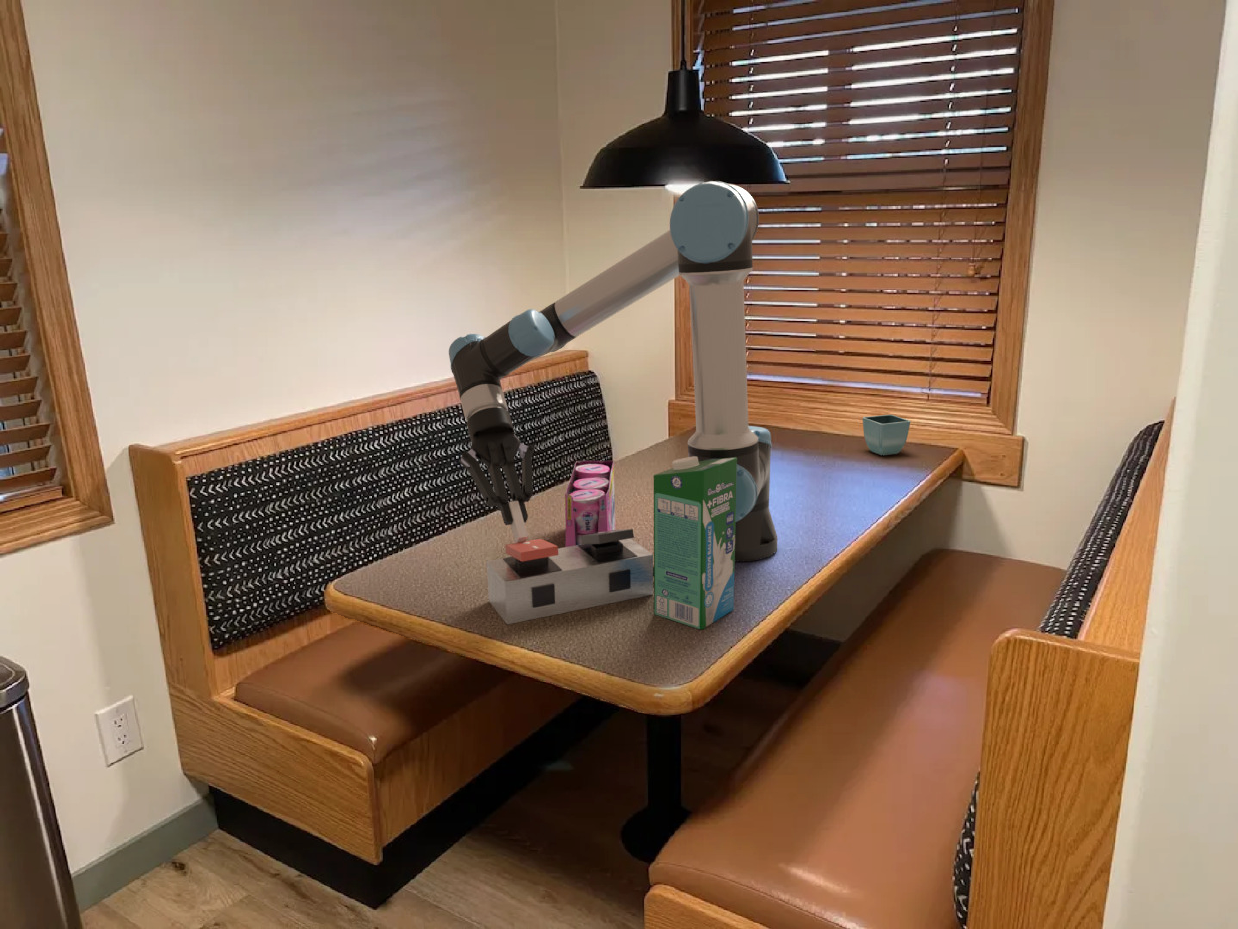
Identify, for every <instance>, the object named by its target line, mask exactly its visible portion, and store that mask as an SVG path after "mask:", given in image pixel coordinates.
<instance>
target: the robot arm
mask: <svg viewBox="0 0 1238 929" xmlns="http://www.w3.org/2000/svg"><path fill="white" fill-rule="evenodd" d="M759 224H760V214H759V208H758V206H757V203H756V201H755V199H754V198H753V196H751V194H750V193H749V192H748V191H747V190H745V189H744V188H742V187H740V185H739V186H738V185H736V184H735V183H727V182H723V181H720V180H715V181H713V180H709V181H705V182H700V183H698V184H695V185H693V186H692V187H690V188H688V189H686V191H684V192H683V193H682V194H681V195H680V196H679V197H678V199H677V200H676V201H675V204H674V205H673V207H672V210H671V213H670V217H669V230H667V231H665V232H664V233H663V234H661V235H659V236H658V237H655V239H653V240H651V241H650V242H649V243H647V244H645V245H643V246H642V247H640V248H638V249H637V250H636V251H634V252H632V253H631V254H630V255H627V256H626V257H624V258H623V259H621V260H620V261H618V262H616V263H614V265H612V266H610V267H609V268H606V269H605V270H603V271H602V272H600V273H599V274H597V275H596V276H594V277H592V278H590V279H589V280H588V281H586V282H585V283H583V284H581V285H580V286H579V287H577V288H575V289H574V290H572V291H569V293H567V294H565V295H564V296H562V297H561V298H559V299H558V300H556V301H555V302H552V303H551V304H549V305H547V306H545V308H543V309H541V310H540V311H537V309H534V308H530V309H526V310H524V311H523V312H521V313H520V314H518V315H515V316H514V317H512V318H511V320H509V321H508V322H506V323H505V324H504V325H502V326H501V327H500V328H498V329H496V330H495V331H494V332H492V333H490V334H488V336H484V335H481V334H479V333H469V334H466V335H465V336H460V337H457V338H456V339H455V340H453V341H452V343H451V344H450V345H449V348H448V357H449V362H450V363H449V364H450V371H451V373H452V375H453V378H454V380H455V384H456V388H457V390H458V395H459V399H460V403H461V407H462V410H463V411H462V412H463V415H464V418H465V419H464V420H465V421H466V428H467V430H468V434H469V438H470V442H471V446H470V450H468V451H464V452H463V453H462V455H461V458H460V461H459V462H460V465H461V466H462V467H464V468H465V469H466V470H467V471H468V472H469V475H470V476H471V478H472V480H473V482H474V484H475V486H476V487H477V489H478V491H479V493H480V494H481V496H482V498H483V500H484V501H485V503H486V505H487V506H488V507H489V508H491V507H496V508H497V510H498V511H499V512H500V513H501V517H502V521H503V524H504V525H505V526H510V529H511V533H512V536H513V539H514V543H519V542H524V541H528V538H529V535H528V531H527V528H526V524H525V523H527V521H528V519H529V518H528V517H529V514H528V512H527V508H526V504H525V503H528V502H529V501H531V498H532V495H533V493H534V488H533V486H534V484H533V483H534V481H533V454H534V452H535V449H536V447H535V445H534V444H529V445H526V444H524V443H521V440H520V439H519V437H518V436H517V435H516V433H515V429H514V426H513V425H514V424H513V422H512V418H511V414H510V413H509V407H508V404H507V401H506V398H505V395H504V392H503V388H502V384H501V380H502V379H503V378H505V377H507V376H508V375H510V374H511V373H513V372H514V371H516V370H518V369H519V368H521V367H522V366H524V365H526V364H527V363H529V362H531V361H534V360H535V359H536V360H537V359H538V358H540V357H542V356H545V355H547V354H550V353H555V352H557V351H558V350H561V349H562V348H564V347H565V346H566V345H567V344H568V343H570V342H571V341H574V339H576V338H578V337H579V336H581V335H582V334H584V333H586V332H587V331H589V330H591V329H592V328H594V327H596V326H597V325H599V324H601V323H603V322H604V321H606V320H607V319H609V318H611V317H613V316H615V315H616V314H617V313H620V312H621V311H623V310H624V309H626V308H629V307H630V306H632V305H633V304H634V303H636V302H638V301H640V300H641V299H643V298H645V297H646V296H647V295H650V294H651V293H653V292H654V291H656V290H658V289H659V288H661V287H663V286H665V285H666V284H668V283H670V282H671V281H673V280H674V279H676V278H678V277H679V276H680V277H681V278H682V279H683V280H684V281H686V282H687V284H688V287H689V288H688V289H689V310H690V328H691V330H690V331H691V346H692V347H691V349H692V366H693V367H692V370H693V371H692V372H693V388H694V389H693V391H694V409H695V410H694V411H695V412H694V413H695V427H696V428H695V429H696V430H695V432H694V433H693V435H691V436H690V437H689V439H688V440H687V451H688V454H687V455H688V457H693V456H696V457H698V461H706V460H715V459H725V458H735V457H736V458H737V477H736V522H735V562H753V561H759V560H758V559H760V560H763V559H762V558H764V559H767V558H769V557H771V556H773V555H774V554H775V553H776V552H777V550H778V534H777V531H776V528H775V525H774V520H773V518H772V515H771V511H770V491H771V490H770V489H771V488H770V487H771V486H770V484H771V456H772V455H771V450H772V447H773V444H772V434H771V432H770V431H769V429H767V428H765V427H760V426H754V425H749V400H748V374H747V373H748V370H747V368H748V367H747V348H746V347H747V346H746V345H747V344H746V342H747V341H746V340H747V339H746V317H745V315H746V314H745V294H744V293H745V292H744V291H745V289H744V288H745V286H744V285H745V284H744V281H745V280H746V278H747V277H748V276H749V274H750V273H751V272H752V271H753V269H754V267H753V266H754V265H753V240H754V239H755V237H756V234H757V233H758V228H759V226H760V225H759ZM517 452H519V457H520V458H521V459H522V461H521V478H522V479H521V483H522V486H521V483H520V480H519V476H518V472H517V471H516V470H517V469H516V465H515V457H516V455H517ZM477 460H479V461H480V462H481V463H483V464H484V465H486V470H487V472H488V474H489V476H490V479H491V480H490V481H491V483H492V485H491V483H490V482H489V479H488V478H487V476H486V474H485V472H484V471H483V469H482V467H481V465H480V463H479V462H478V461H477ZM501 468H502V471H503V472H504V474H505V475H504V476H505V479H506V481H507V485H508V489H509V494H510V497H511V500H512V501H509V496H508V492H507V488H506V485H505V481H504V478H503V473H502V471H501ZM774 552H775V553H774ZM773 553H774V554H773ZM772 554H773V555H772ZM770 555H771V556H770ZM766 557H767V558H766Z"/></svg>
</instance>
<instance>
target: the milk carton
mask: <svg viewBox="0 0 1238 929" xmlns="http://www.w3.org/2000/svg"><path fill="white" fill-rule="evenodd" d="M736 477H737V458H736V457H735V458H725V459H715V460H706V461H698V457H696V456H693V457H689V456H688V457H687V456H686V457H683V458H678V459H675V460H673V461H672V467H671V468H669V469H667V470H663V471H661V472H659V473H655V474H653V567H654V577H653V615H655V616H658V617H661V618H665V619H667V620H670V621H674V622H676V623H680V624H682V625H686V626H689V627H691V628H695V629H697V630H699V631H700V630H701V631H702V630H704V629H705V628H707V627H708V626H710V625H712V624H713V623H715V622H717V621H718V620H720V619H722V618H723V617H724V616H726V615H728V614H729V613H731V612H732V611H734V609H735V608H734V607H735V605H734V604H735V600H734V599H735V598H734V597H735V562H736V561H735V522H736Z"/></svg>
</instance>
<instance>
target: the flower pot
mask: <svg viewBox="0 0 1238 929" xmlns="http://www.w3.org/2000/svg"><path fill="white" fill-rule="evenodd" d="M910 425H911V420H909V419H906V418H902V417H900V416H896V415H894V414H883V415H872V416H863V417H862V427H863V437H864V441H865V443H866V445H867V447H868V449H869V451H870V452H872V453H874V454H877V455H880V456H882V455H883V456H888V455H897V454H899V453H901V451H902V449H903V448H904V446H905V445H906V442H907V440H908V436H909V431H910Z"/></svg>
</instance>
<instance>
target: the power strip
mask: <svg viewBox="0 0 1238 929" xmlns="http://www.w3.org/2000/svg"><path fill="white" fill-rule="evenodd" d="M486 570H487V571H486V574H487V588H488V589H487V590H488V593H487V594H488V603H489V604H490V605H491V606H492V607H493V608H494V610H495V612H497V614H498V615H499V616H500V618H501V619H502V620H503V621H504V623H505V624H506V625H512V624H515V623H522V622H527V621H530V620H536V619H541V618H546V617H550V616H554V615H560V614H565V613H569V612H574V611H579V610H580V611H581V610H585V609H588V608H594V607H599V606H604V605H608V604H614V603H620V602H623V601H627V600H632V599H637V598H643V597H647V596H651V595H653V596H654V553H651V552H650V551H649V550H648V549H646V548H645V547H643V546H641V544H639V542H636V541H635V540H633V538H630V539H624V540H619V541H613V542H607V543H602V544H581V545H575V546H570V547H566V546H565V547H560V548H559V547H558V555H556V556H550V557H545V558H539V559H533V560H528V561H522V562H521V561H520V560H518V559H516V558H514V557H512V556H508V557H503V558H496V559H490V560H486Z"/></svg>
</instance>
